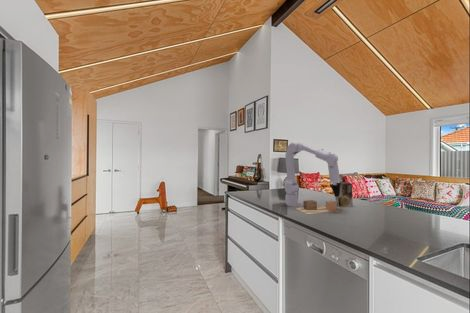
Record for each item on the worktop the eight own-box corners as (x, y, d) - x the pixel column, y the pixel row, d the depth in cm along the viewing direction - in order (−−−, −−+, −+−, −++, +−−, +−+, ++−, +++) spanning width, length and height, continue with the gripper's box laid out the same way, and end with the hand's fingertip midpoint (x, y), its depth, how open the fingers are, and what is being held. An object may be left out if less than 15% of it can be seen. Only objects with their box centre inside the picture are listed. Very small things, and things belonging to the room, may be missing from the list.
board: (293, 209, 162) (293, 207, 162) (324, 206, 165) (324, 205, 165) (306, 215, 144) (306, 213, 144) (340, 212, 148) (340, 211, 148)
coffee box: (349, 206, 165) (348, 182, 165) (352, 208, 159) (352, 183, 158) (335, 206, 166) (334, 182, 166) (338, 208, 160) (337, 183, 159)
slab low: (303, 208, 158) (303, 204, 158) (312, 207, 160) (312, 203, 159) (307, 210, 153) (307, 206, 153) (316, 209, 154) (316, 205, 154)
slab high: (303, 204, 158) (303, 200, 158) (312, 203, 159) (312, 200, 159) (307, 206, 153) (307, 202, 153) (316, 205, 154) (316, 201, 154)
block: (325, 209, 154) (325, 201, 154) (332, 208, 155) (332, 200, 155) (329, 210, 149) (329, 202, 149) (336, 210, 150) (336, 202, 150)
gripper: (340, 173, 142) (344, 196, 141) (341, 172, 155) (344, 193, 154) (327, 174, 145) (331, 197, 144) (329, 173, 158) (332, 194, 157)
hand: (337, 195), depth 149 cm, fingers open, 7 cm apart
